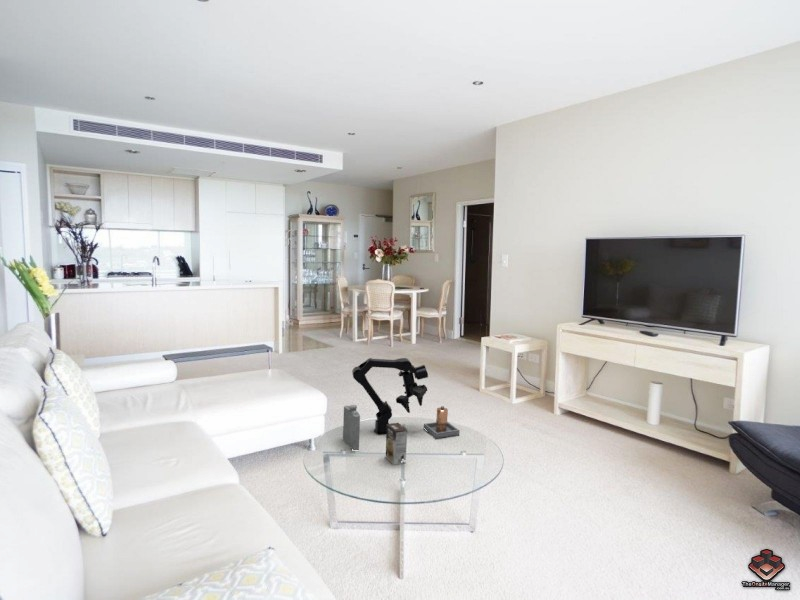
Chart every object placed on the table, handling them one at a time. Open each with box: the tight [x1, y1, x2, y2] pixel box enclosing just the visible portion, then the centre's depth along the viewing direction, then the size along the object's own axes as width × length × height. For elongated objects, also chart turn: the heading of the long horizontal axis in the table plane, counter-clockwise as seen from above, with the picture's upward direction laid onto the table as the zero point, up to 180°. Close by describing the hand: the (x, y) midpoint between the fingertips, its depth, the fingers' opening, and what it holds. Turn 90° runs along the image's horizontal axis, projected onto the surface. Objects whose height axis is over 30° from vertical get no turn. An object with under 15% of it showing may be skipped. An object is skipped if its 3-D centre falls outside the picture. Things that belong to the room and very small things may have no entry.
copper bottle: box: [435, 405, 449, 433], centre depth 249 cm, size 6×6×14 cm
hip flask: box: [342, 404, 361, 451], centre depth 229 cm, size 16×4×20 cm, turn 27°
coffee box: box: [385, 422, 408, 466], centre depth 215 cm, size 9×6×16 cm
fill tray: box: [423, 421, 460, 440], centre depth 249 cm, size 14×14×3 cm
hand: (415, 409), depth 249 cm, fingers open, 9 cm apart
